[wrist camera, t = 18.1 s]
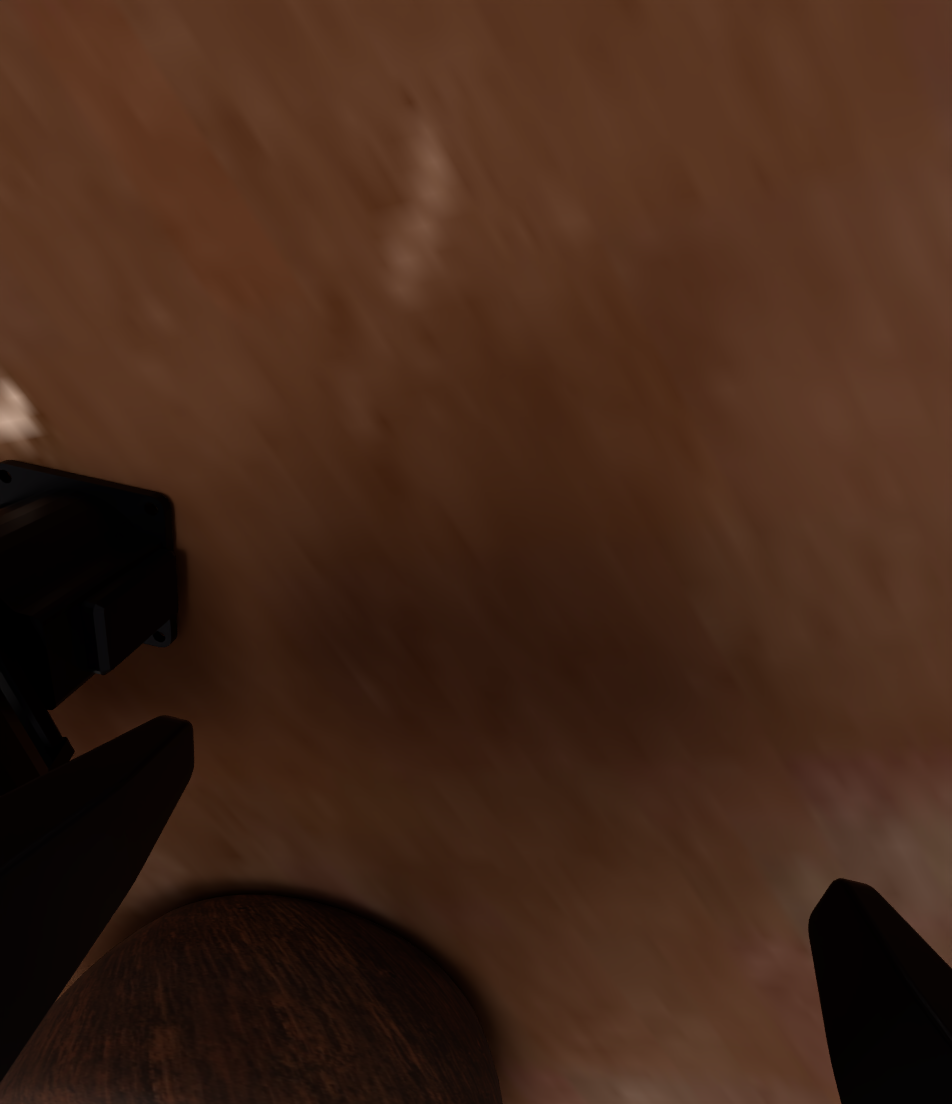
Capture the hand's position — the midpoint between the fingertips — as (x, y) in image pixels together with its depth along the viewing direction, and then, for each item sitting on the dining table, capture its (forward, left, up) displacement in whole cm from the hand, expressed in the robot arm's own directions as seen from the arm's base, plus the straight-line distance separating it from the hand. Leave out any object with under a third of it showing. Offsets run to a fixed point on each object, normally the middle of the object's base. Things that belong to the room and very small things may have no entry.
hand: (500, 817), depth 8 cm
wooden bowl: (-6, -33, -13) cm, 36 cm away
